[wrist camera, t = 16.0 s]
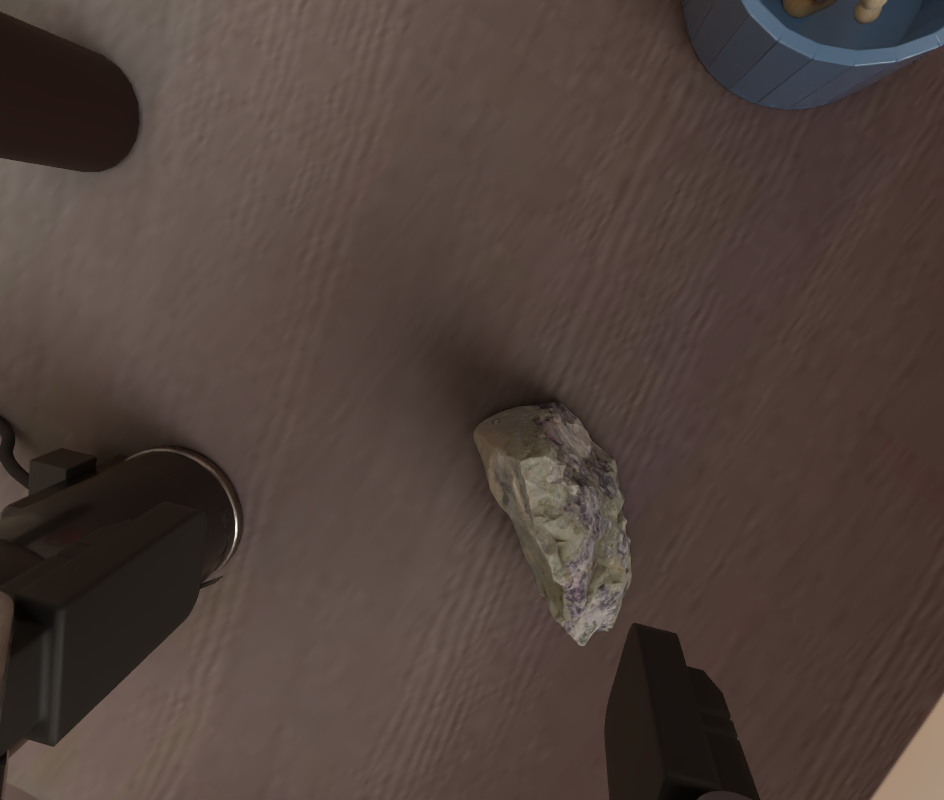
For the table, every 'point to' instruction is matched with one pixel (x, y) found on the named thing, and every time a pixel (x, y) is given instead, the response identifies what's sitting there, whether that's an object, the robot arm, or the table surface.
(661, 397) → the table surface
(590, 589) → the mineral rock
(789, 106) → the bowl
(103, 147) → the bottle
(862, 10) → the grandmother figurine
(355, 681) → the table surface
